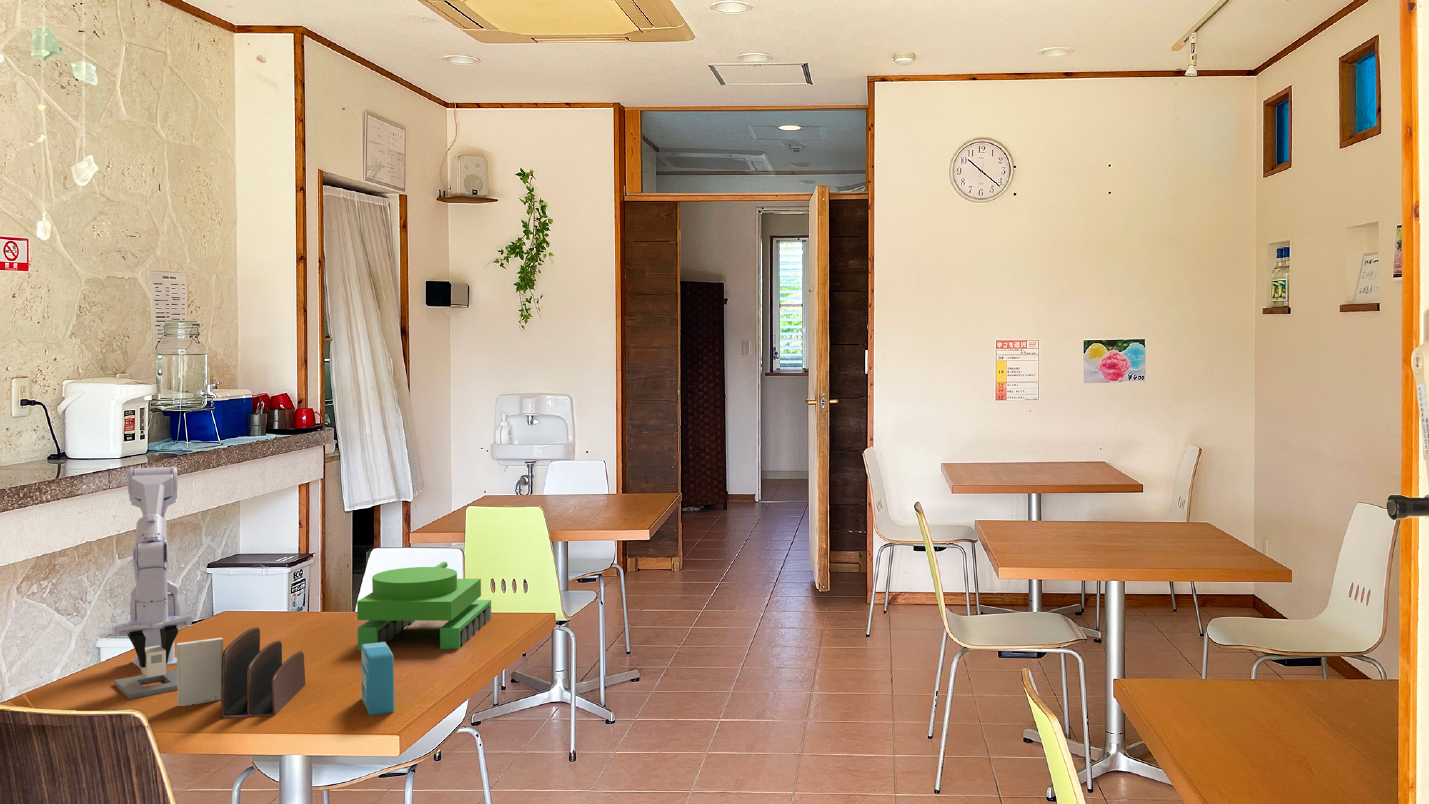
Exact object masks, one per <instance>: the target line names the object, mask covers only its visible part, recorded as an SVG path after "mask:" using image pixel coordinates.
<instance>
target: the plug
mask: <svg viewBox="0 0 1429 804" xmlns="http://www.w3.org/2000/svg"><path fill="white" fill-rule="evenodd" d="M145 658H146V667H144V668H141V669H140V670H141V673H142V675H145V676H146V677H153V676H158V675H164V674H166V671H167V666H166V650H165V649H163V648H162V647H161V646H160V645H159V646H152V647H146V648H145Z"/></svg>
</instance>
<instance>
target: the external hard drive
mask: <svg viewBox="0 0 1429 804" xmlns="http://www.w3.org/2000/svg"><path fill="white" fill-rule="evenodd" d="M223 651H224V638H223V637H215V638H208V639H200V640H193V641H184V642H177V643H176V658H177V664H176V669H177V690H176V691H177V707H178V706H183V707H187V705H188V706H193V705H192V704H194V705H199V704H205V703H209V702H211V703H212V702H216V701H221V665H222V661H221V660H222V654H223Z"/></svg>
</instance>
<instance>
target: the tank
mask: <svg viewBox="0 0 1429 804" xmlns="http://www.w3.org/2000/svg"><path fill="white" fill-rule="evenodd" d="M448 564H449V563H448V562H447V561H442V562H440V563H438V564H437V565H436V566H415V567H414V566H413V567H403V568H401V567H400V568H396V569H388V570H384V571H381V572H377V573H375V574H373V575H372V579H371V581H372V587H371V588H372V589H371V591H372V592H371V593H369V594H367V595H365V596H364V597H362V598H360V599H358V600H356V601H357V602H356V609H357V611H356V612H357V613H356V614H357V615H356V616H357V621H366V622H364V623H363V624H361V625H360V626H358V627H357V651H361V646H362V644H370V643H379V642H386V643H387V641H391V640H393V638H394V636H395V635H394V634H398V633H399V632H400V631H401V632H402V630H405V629H404V628H405V627H406V626H408V627H409V625H413V624H414V623H415V622H416V621H423V622H424V621H426V622H427V621H435V622H436V621H441V622H443V621H445V623H444V624H443V625H442V626H441V627H440V628H439V647H440V648H439V649H440V650H451V649H450V648H453V649H452V650H459V648H460V649H461V646H460V645H463V644H464V645H465V644H466V643H467V642H468V640H467V639H469V640H471V638H472V637H473V635H476V633H475V632H476V631H478V632H479V630H480V629H479V628H481V627H482V626H483V625H484V626H485V624H484V623H486V622H487V621H488V622H490V620H491V619H492V599H479V598H480V597H482V579H481V578H458V571H457V570H455V569H453V568H448ZM489 619H490V620H489ZM415 620H416V621H415ZM446 621H447V622H446ZM413 622H414V623H413ZM488 622H487V623H488ZM487 623H486V624H487ZM484 626H483V627H484ZM483 627H482V628H483ZM482 628H481V629H482ZM478 629H479V630H478ZM401 632H400V633H401ZM400 633H399V634H400ZM399 634H398V635H399ZM471 636H472V637H471ZM470 637H471V638H470ZM466 641H467V642H466ZM465 642H466V643H465ZM464 645H463V646H464ZM454 648H455V649H454Z"/></svg>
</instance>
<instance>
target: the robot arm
mask: <svg viewBox="0 0 1429 804" xmlns="http://www.w3.org/2000/svg"><path fill="white" fill-rule="evenodd" d="M127 492H128V493H127V494H128V495H129V496H128V497H129V501H130V503H131V504H130V505H131V506H133V507H137V508H139V509H140V511H141V513H142V516H141V517H140V518H139V519H138V520H137V522H136V526H135V527H136V531H135V533H136V534H135V545H134V546H133V547H132V567H133V570H134V579H135V586H134V587H133V588H132V591H131V593H130V603H129V604H130V606H129V607H130V608H129V610H130V615H129V616H130V622H129V621H128V622H125V623H121V624H120V623H119V624H114V625H112V626H111V629H112V630H111V631H112V636H113V637H120V636H122V635H127V638H129V641H130V642H131V644H132V646H133V648H134V651H135V654H136V657H135V658H132V659H131V662H132V663H133V664H134V665H135V666H136V667H138V668H139V669H140V670H141V668H144V667H146V658H145V648H146V647H152V646H159V645H160V646H161V647H162V648H163V649H165V650H166V667H167V666H172V665H177V657H176V655H175V652H176V651H175V648H176V647H175V640H176V638H177V637H178V635H179V628H177V627H183V626H186V627H187V626H192V621H193V620H192V616H191V615H190V614H185V615H184V614H183V615H181V600H180V599H181V596H180V588H179V587H178V585H177V584H176V583H174V582H173V581H171V580H169V579H168V569H169V565H170V546H169V543H168V534H167V532H168V530H167V529H168V528H167V527H168V523H167V520H166V519H165V516H166V513H167V510H168V507H169V506H171V505H174V504H176V502H177V499H178V468H177V467H176V466H174V465H173V466H169V467H168V466H165V467H164V466H160V467H140V468H139V467H138V468H136V467H135V468H133V467H130V468H129V469H128V471H127Z"/></svg>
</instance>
